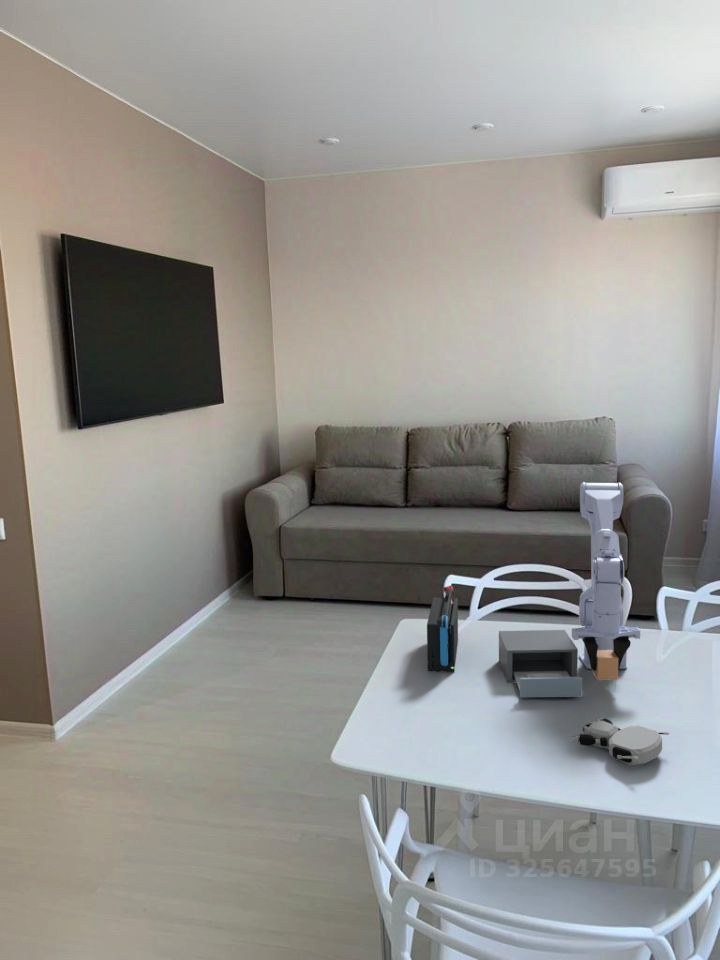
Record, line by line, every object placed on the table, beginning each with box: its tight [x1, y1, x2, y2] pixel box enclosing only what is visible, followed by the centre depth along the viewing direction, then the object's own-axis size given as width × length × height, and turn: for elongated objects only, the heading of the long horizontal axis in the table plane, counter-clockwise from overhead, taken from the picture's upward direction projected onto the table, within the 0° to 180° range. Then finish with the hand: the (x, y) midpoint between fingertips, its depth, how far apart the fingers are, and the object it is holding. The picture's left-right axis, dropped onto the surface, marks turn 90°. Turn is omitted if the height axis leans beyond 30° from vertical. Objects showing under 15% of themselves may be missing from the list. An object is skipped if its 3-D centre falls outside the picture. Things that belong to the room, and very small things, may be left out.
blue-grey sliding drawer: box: [513, 671, 583, 698], centre depth 166 cm, size 13×12×4 cm
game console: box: [426, 585, 459, 673], centre depth 185 cm, size 28×6×15 cm, turn 170°
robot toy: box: [570, 718, 670, 766], centre depth 140 cm, size 12×4×15 cm
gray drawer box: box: [498, 629, 579, 684], centre depth 175 cm, size 16×12×8 cm
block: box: [591, 650, 619, 681], centre depth 164 cm, size 4×4×5 cm
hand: (604, 668), depth 165 cm, fingers closed on block, 4 cm apart
